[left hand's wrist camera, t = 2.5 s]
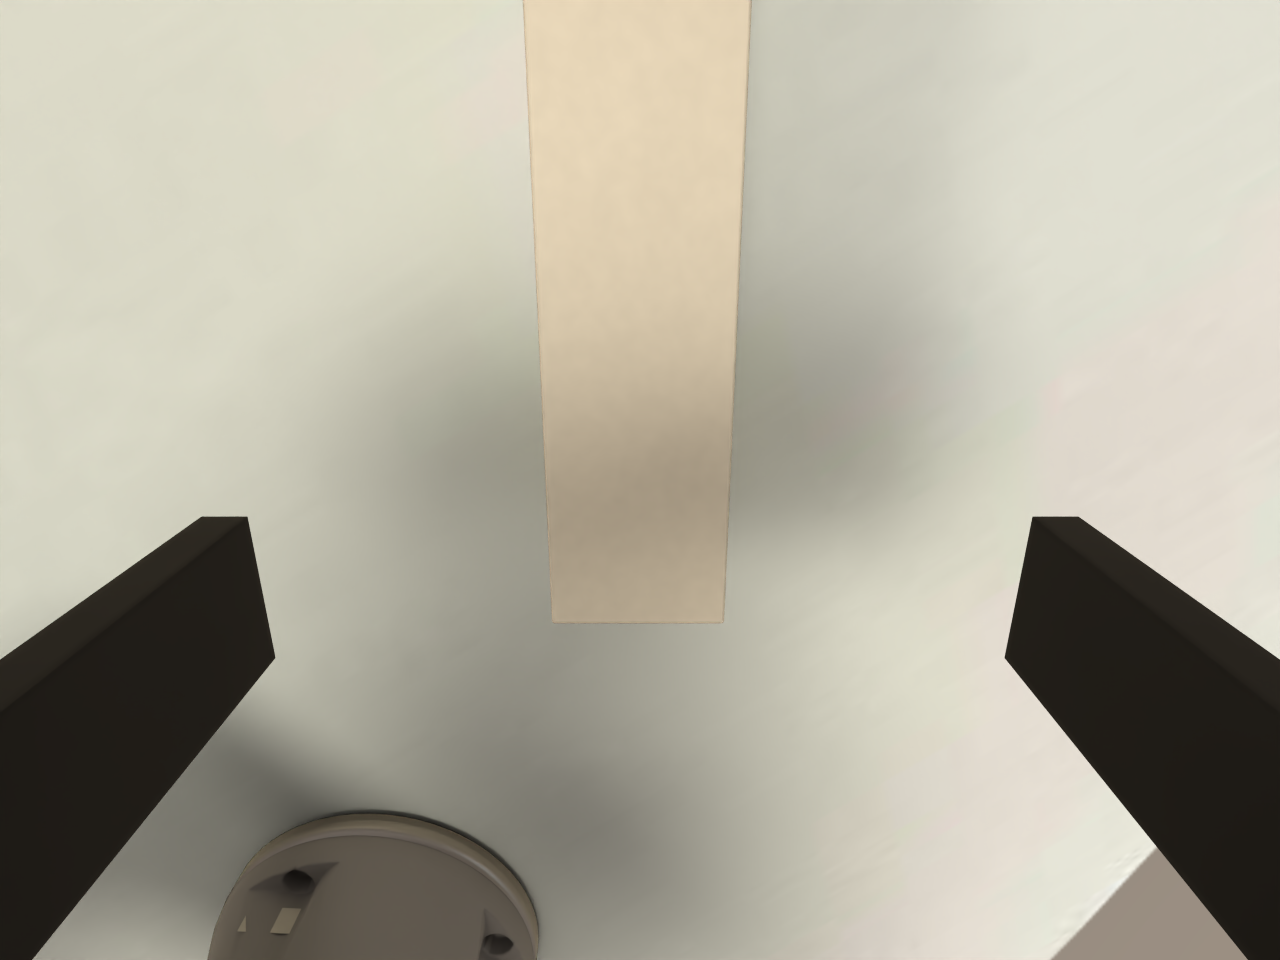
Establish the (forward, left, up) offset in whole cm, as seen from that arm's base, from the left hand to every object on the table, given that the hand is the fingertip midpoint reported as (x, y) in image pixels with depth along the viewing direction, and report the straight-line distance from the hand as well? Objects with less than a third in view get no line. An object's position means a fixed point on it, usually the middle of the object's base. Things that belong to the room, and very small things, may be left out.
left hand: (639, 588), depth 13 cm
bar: (+30, +13, -16) cm, 36 cm away
